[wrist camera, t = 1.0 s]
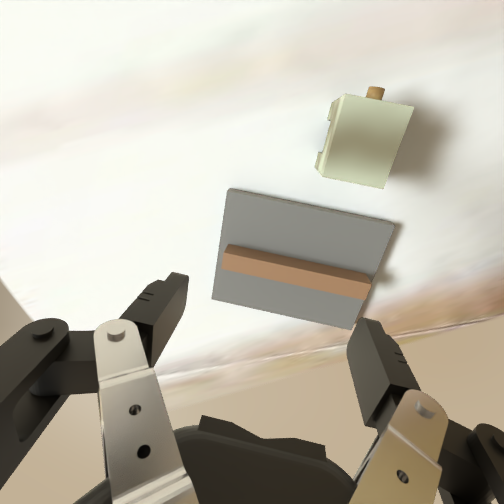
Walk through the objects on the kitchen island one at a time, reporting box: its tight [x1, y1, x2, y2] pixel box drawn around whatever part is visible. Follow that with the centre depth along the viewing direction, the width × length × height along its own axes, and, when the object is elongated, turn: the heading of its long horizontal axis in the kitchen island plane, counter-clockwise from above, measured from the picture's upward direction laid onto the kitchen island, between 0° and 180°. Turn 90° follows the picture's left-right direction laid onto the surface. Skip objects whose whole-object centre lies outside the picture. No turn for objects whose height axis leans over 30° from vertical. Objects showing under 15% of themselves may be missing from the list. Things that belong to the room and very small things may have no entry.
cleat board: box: [212, 188, 395, 330], centre depth 32 cm, size 14×18×4 cm
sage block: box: [315, 87, 414, 189], centre depth 24 cm, size 7×5×7 cm
